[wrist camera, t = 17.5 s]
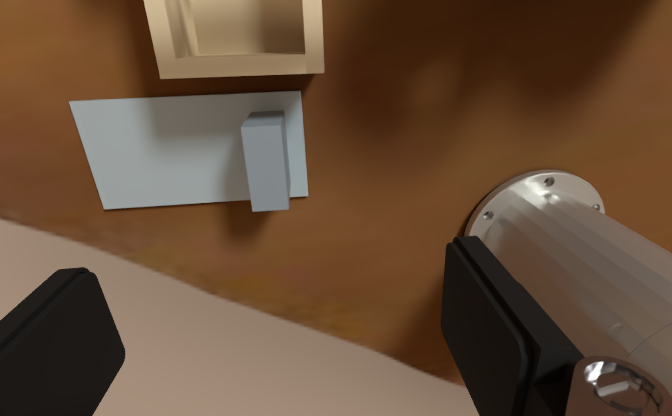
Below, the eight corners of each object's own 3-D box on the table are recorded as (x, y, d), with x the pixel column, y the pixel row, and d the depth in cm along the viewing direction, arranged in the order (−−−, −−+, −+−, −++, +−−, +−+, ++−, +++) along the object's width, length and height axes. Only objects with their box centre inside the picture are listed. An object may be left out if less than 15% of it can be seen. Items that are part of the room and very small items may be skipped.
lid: (300, 89, 27) (300, 102, 22) (308, 192, 31) (309, 225, 25) (75, 100, 26) (16, 116, 21) (108, 205, 30) (65, 242, 24)
